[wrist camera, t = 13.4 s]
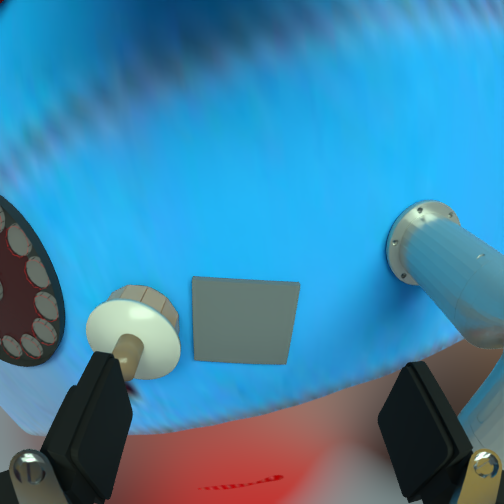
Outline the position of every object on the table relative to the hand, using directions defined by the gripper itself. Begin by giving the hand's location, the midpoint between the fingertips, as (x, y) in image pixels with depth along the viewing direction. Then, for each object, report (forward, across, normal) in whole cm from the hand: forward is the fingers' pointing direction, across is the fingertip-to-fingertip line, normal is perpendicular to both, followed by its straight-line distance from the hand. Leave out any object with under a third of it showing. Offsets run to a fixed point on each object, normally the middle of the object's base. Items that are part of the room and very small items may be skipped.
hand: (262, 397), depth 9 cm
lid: (+24, +14, +19) cm, 34 cm away
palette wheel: (+31, +45, +17) cm, 57 cm away
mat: (+30, 0, +19) cm, 36 cm away
